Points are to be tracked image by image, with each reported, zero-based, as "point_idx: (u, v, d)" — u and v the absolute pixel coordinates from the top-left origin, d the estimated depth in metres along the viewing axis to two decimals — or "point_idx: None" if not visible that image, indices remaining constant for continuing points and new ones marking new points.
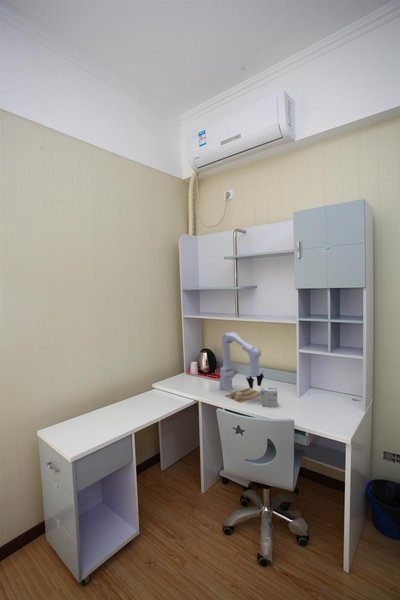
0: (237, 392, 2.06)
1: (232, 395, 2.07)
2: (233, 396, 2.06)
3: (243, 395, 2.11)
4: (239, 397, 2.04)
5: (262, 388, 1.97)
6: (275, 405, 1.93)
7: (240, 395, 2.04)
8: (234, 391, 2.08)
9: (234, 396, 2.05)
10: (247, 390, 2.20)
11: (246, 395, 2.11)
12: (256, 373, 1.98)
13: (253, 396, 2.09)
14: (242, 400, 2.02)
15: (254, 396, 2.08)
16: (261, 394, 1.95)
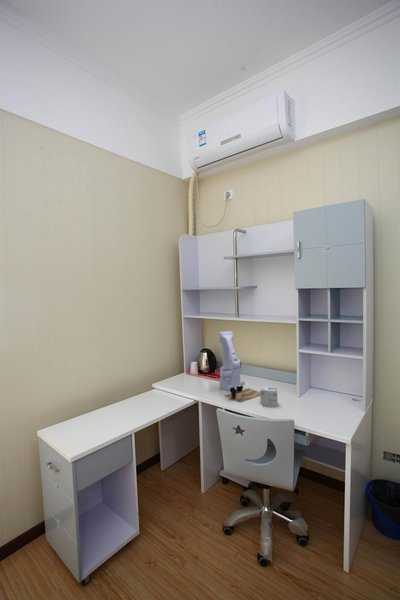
0: (237, 392, 2.06)
1: None
2: None
3: (243, 395, 2.11)
4: (239, 397, 2.04)
5: (262, 388, 1.97)
6: (275, 405, 1.93)
7: (240, 395, 2.04)
8: None
9: None
10: (247, 390, 2.20)
11: (246, 395, 2.11)
12: (237, 384, 2.04)
13: (253, 396, 2.09)
14: (242, 400, 2.02)
15: (254, 396, 2.08)
16: (261, 394, 1.95)
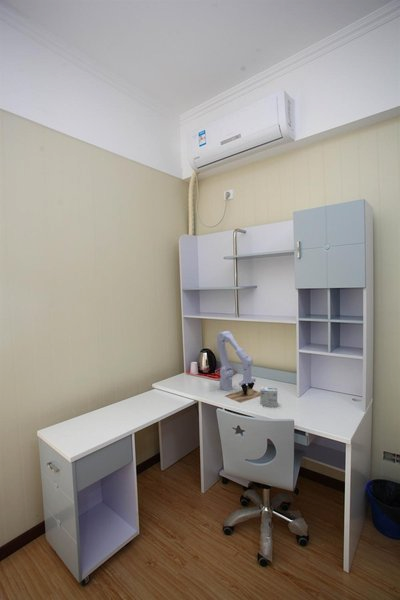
0: (248, 388, 2.12)
1: None
2: None
3: (243, 395, 2.11)
4: (250, 393, 2.10)
5: (262, 388, 1.97)
6: (275, 405, 1.93)
7: (251, 391, 2.11)
8: None
9: None
10: None
11: (246, 395, 2.11)
12: (248, 380, 2.10)
13: (253, 396, 2.09)
14: (242, 400, 2.02)
15: (254, 396, 2.08)
16: (261, 394, 1.95)
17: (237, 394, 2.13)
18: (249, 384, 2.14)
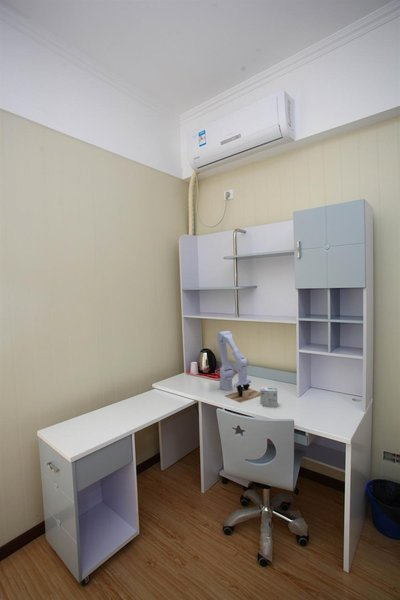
0: (244, 390, 2.10)
1: None
2: None
3: None
4: (246, 395, 2.07)
5: (262, 388, 1.97)
6: (275, 405, 1.93)
7: (247, 393, 2.08)
8: None
9: None
10: None
11: None
12: (244, 382, 2.07)
13: (253, 396, 2.09)
14: (242, 400, 2.02)
15: (254, 396, 2.08)
16: (261, 394, 1.95)
17: None
18: (244, 385, 2.12)
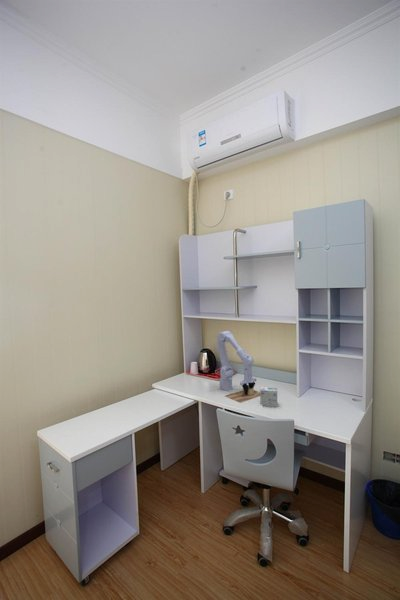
0: (249, 388, 2.13)
1: None
2: None
3: (243, 395, 2.11)
4: (251, 393, 2.11)
5: (262, 388, 1.97)
6: (275, 405, 1.93)
7: (252, 391, 2.11)
8: None
9: None
10: None
11: (246, 395, 2.11)
12: (249, 380, 2.11)
13: (253, 396, 2.09)
14: (242, 400, 2.02)
15: (254, 396, 2.08)
16: (261, 394, 1.95)
17: (237, 394, 2.13)
18: (250, 384, 2.15)
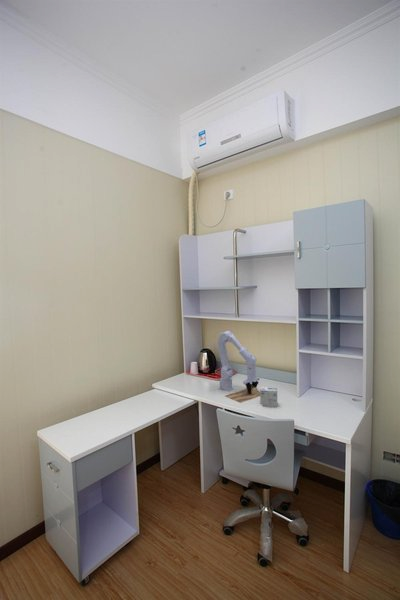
0: (252, 387, 2.15)
1: None
2: None
3: (243, 395, 2.11)
4: (255, 392, 2.13)
5: (262, 388, 1.97)
6: (275, 405, 1.93)
7: (255, 390, 2.13)
8: None
9: None
10: None
11: (246, 395, 2.11)
12: (252, 379, 2.12)
13: (253, 396, 2.09)
14: (242, 400, 2.02)
15: (254, 396, 2.08)
16: (261, 394, 1.95)
17: (237, 394, 2.13)
18: (253, 383, 2.17)
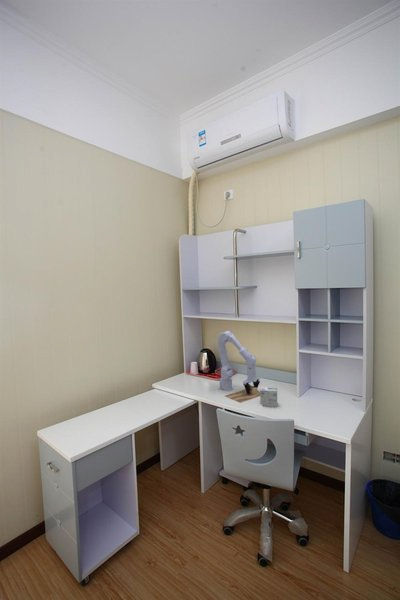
0: (252, 387, 2.15)
1: None
2: None
3: (243, 395, 2.11)
4: (255, 392, 2.13)
5: (262, 388, 1.97)
6: (275, 405, 1.93)
7: (255, 390, 2.13)
8: None
9: (250, 391, 2.14)
10: None
11: (246, 395, 2.11)
12: (252, 379, 2.12)
13: (253, 396, 2.09)
14: (242, 400, 2.02)
15: (254, 396, 2.08)
16: (261, 394, 1.95)
17: (237, 394, 2.13)
18: (255, 382, 2.18)
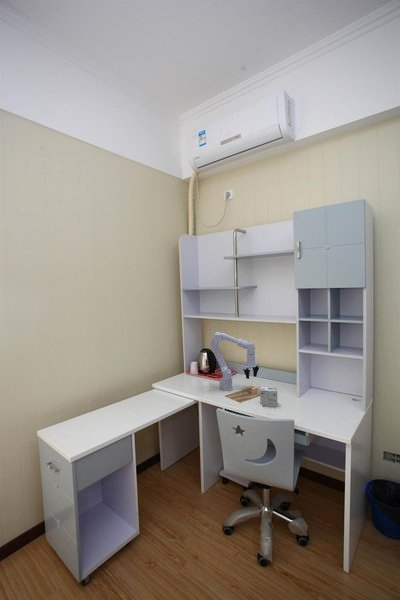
0: (252, 387, 2.15)
1: (248, 390, 2.16)
2: (249, 391, 2.15)
3: (243, 395, 2.11)
4: (255, 392, 2.13)
5: (262, 388, 1.97)
6: (275, 405, 1.93)
7: (255, 390, 2.13)
8: (249, 386, 2.17)
9: (250, 391, 2.14)
10: None
11: (246, 395, 2.11)
12: (252, 365, 2.19)
13: (253, 396, 2.09)
14: (242, 400, 2.02)
15: (254, 396, 2.08)
16: (261, 394, 1.95)
17: (237, 394, 2.13)
18: (254, 368, 2.24)
